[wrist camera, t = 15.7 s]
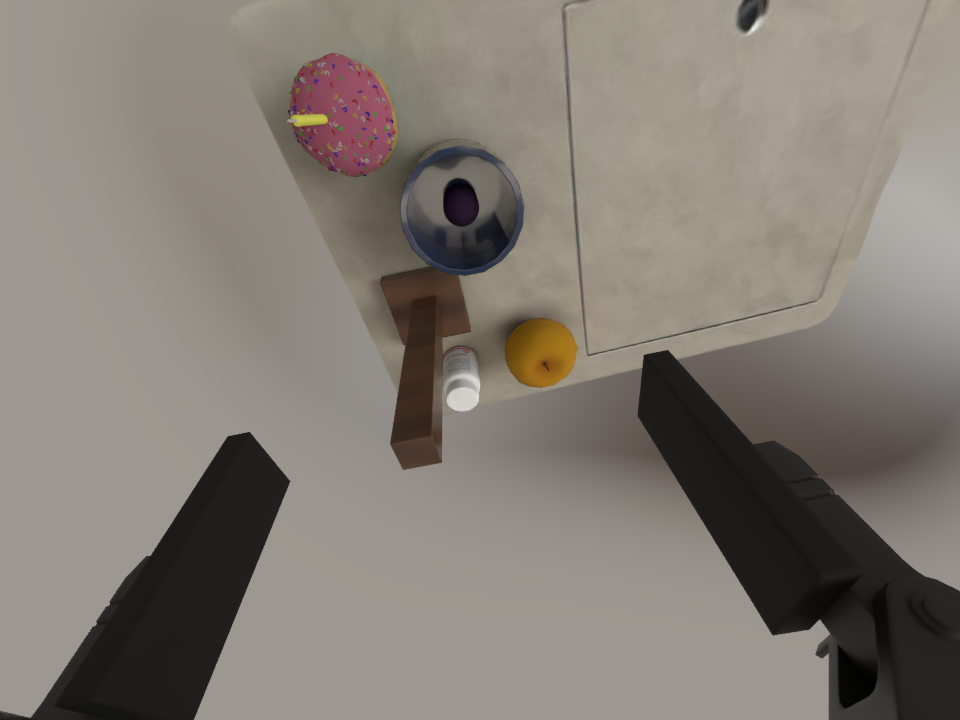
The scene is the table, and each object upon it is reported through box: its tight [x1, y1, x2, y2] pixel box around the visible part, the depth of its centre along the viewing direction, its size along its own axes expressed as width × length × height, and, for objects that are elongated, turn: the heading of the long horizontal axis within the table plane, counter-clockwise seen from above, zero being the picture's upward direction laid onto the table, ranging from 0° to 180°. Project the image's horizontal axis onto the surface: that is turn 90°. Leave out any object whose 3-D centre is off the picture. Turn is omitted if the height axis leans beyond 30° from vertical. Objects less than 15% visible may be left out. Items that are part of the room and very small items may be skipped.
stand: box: [380, 267, 471, 470], centre depth 36 cm, size 9×9×24 cm
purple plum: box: [443, 183, 479, 227], centre depth 36 cm, size 4×4×5 cm
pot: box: [400, 139, 524, 276], centre depth 36 cm, size 11×11×7 cm
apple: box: [505, 318, 577, 388], centre depth 46 cm, size 9×9×9 cm
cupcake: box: [286, 53, 398, 177], centre depth 29 cm, size 9×8×12 cm
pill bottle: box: [443, 347, 480, 411], centre depth 48 cm, size 5×5×8 cm
